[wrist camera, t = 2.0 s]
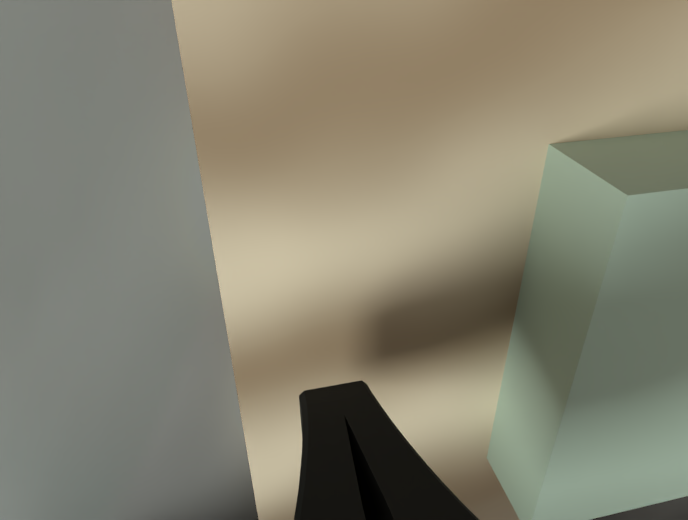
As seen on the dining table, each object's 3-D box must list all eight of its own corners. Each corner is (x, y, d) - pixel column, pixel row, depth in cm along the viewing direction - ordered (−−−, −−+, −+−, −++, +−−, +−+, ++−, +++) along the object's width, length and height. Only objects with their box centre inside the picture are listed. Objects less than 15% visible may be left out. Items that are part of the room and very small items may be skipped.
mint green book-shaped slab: (710, 410, 18) (776, 474, 16) (486, 457, 17) (527, 534, 15) (860, 112, 13) (989, 150, 11) (548, 143, 11) (627, 195, 9)
